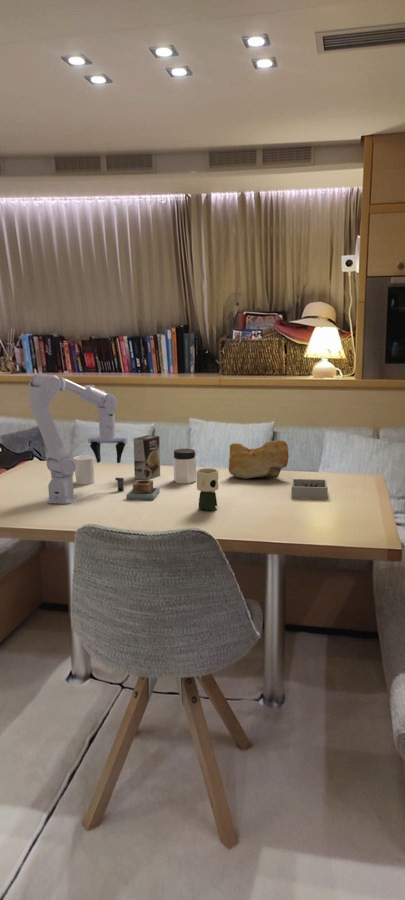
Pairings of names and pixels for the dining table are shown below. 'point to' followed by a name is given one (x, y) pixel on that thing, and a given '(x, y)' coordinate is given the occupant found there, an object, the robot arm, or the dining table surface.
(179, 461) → the jar
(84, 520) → the dining table surface
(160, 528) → the dining table surface
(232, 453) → the rough brown rock
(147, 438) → the coffee box
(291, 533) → the dining table surface
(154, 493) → the tray
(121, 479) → the dark grey rounded piece
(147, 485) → the collar
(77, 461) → the white cup
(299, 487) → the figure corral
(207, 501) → the character mug
